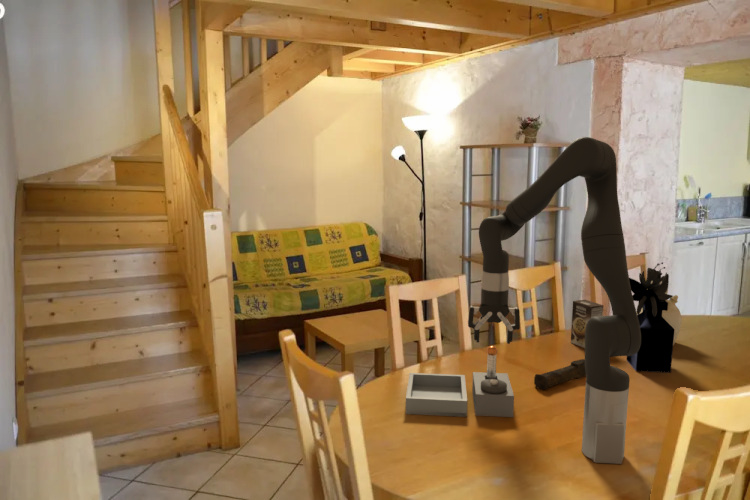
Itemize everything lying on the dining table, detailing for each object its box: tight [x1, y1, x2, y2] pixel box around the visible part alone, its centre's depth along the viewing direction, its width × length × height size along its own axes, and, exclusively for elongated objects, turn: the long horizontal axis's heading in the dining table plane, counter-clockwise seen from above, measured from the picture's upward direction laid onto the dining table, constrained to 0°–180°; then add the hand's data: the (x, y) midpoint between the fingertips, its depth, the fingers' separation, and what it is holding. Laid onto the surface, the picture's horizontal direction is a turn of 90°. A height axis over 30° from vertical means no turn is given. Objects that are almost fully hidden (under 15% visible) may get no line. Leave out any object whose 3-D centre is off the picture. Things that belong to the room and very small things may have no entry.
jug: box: [636, 276, 682, 346], centre depth 212 cm, size 15×16×25 cm
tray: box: [405, 372, 468, 418], centre depth 163 cm, size 18×16×4 cm
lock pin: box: [486, 345, 498, 379], centre depth 164 cm, size 3×3×14 cm
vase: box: [626, 262, 674, 373], centre depth 186 cm, size 14×12×35 cm
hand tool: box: [533, 358, 586, 391], centre depth 176 cm, size 23×5×6 cm, turn 120°
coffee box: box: [570, 299, 604, 349], centre depth 210 cm, size 9×6×16 cm
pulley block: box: [471, 371, 515, 418], centre depth 161 cm, size 16×10×8 cm, turn 173°
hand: (492, 342), depth 163 cm, fingers open, 8 cm apart
